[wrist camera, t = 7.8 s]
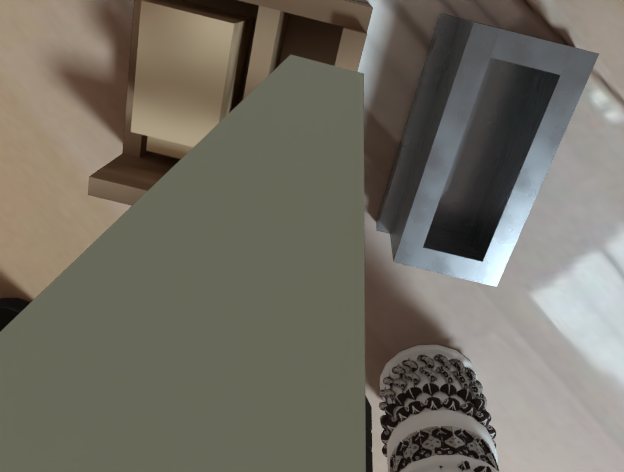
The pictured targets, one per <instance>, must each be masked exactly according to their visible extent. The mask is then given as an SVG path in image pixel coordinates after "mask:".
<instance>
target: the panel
mask: <svg viewBox="0 0 624 472" xmlns="http://www.w3.org/2000/svg"><path fill="white" fill-rule="evenodd" d="M0 472H366V432H365V243H364V74H363V73H359V72H355V71H352V70H348V69H344V68H340V67H336V66H333V65H329V64H325V63H321V62H317V61H314V60H310V59H306V58H302V57H298V56H295V55H290V56H289V57H288V58H286V59H285V60H284V61H283V62H282V63H281V64H280V65H279V66H278V67H277V68H276V69H275V70H274V71H273V72H272V73H271V74H270V75H269V76H268V77H267V78H266V79H264V80H263V81H262V82H261V83H260V84H259V85H258V86H257V87H256V88H255V89H254V90H253V91H252V92H251V93H250V94H249V95H248V96H247V97H246V98H245V99H244V100H243V101H241V102H240V103H239V104H238V105H237V106H236V107H235V108H234V109H233V110H232V111H231V112H230V113H229V114H228V115H227V116H226V117H225V118H224V119H223V120H222V121H221V122H219V123H218V124H217V125H216V126H215V127H214V128H213V129H212V130H211V131H210V132H209V133H208V134H207V135H206V136H205V137H204V138H203V139H202V140H201V141H200V142H199V143H197V144H196V145H195V146H194V147H193V148H192V149H191V150H190V151H189V152H188V153H187V154H186V155H185V156H184V157H183V158H182V159H181V160H180V161H179V162H178V163H177V164H175V165H174V166H173V167H172V168H171V169H170V170H169V171H168V172H167V173H166V174H165V175H164V176H163V177H162V178H161V179H160V180H159V181H158V182H157V183H156V184H155V185H153V186H152V187H151V188H150V189H149V190H148V191H147V192H146V193H145V194H144V195H143V196H142V197H141V198H140V199H139V200H138V201H137V202H136V203H135V204H134V205H133V206H131V207H130V208H129V209H128V210H127V211H126V212H125V213H124V214H123V215H122V216H121V217H120V218H119V219H118V220H117V221H116V222H115V223H114V224H113V225H112V226H111V227H109V228H108V229H107V230H106V231H105V232H104V233H103V234H102V235H101V236H100V237H99V238H98V239H97V240H96V241H95V242H94V243H93V244H92V245H91V246H90V247H89V248H87V249H86V250H85V251H84V252H83V253H82V254H81V255H80V256H79V257H78V258H77V259H76V260H75V261H74V262H73V263H72V264H71V265H70V266H69V267H68V268H67V269H65V270H64V271H63V272H62V273H61V274H60V275H59V276H58V277H57V278H56V279H55V280H54V281H53V282H52V283H51V284H50V285H49V286H48V287H47V288H46V289H45V290H43V291H42V292H41V293H40V294H39V295H38V296H37V297H36V298H35V299H34V300H33V301H32V302H31V303H30V304H29V305H28V306H27V307H26V308H25V309H24V310H23V311H21V312H20V313H19V314H18V315H17V316H16V317H15V318H14V319H13V320H12V321H11V322H10V323H9V324H8V325H7V326H6V327H5V328H4V329H3V330H2V331H1V332H0Z"/></svg>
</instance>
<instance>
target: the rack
mask: <svg viewBox="0 0 624 472" xmlns="http://www.w3.org/2000/svg"><path fill="white" fill-rule="evenodd" d="M141 1H142V0H134V10H133V23H132V36H131V49H130V62H129V75H128V88H127V101H126V115H125V128H124V141H123V154H121V155H120V156H118V157H117V158H115V159H114V160H113V161H111V162H110V163H108V164H107V165H105V166H104V167H102V168H101V169H99V170H98V171H97V172H95V173H94V174H92V175H91V176H89V186H88V195H91V196H95V197H99V198H103V199H107V200H111V201H115V202H119V203H124V204H128V205H132V206H133V205H134V204H135V203H136V202H137V201H138V200H139V199H140V198H141V197H142V196H143V195H144V194H145V193H146V192H147V191H148V190H149V189H150V188H151V187H152V186H153V185H155V184H156V183H157V182H158V181H159V180H160V179H161V178H162V177H163V176H164V175H165V174H166V173H167V172H168V171H169V170H170V169H171V168H172V167H173V166H174V165H175V164H177V163H178V162H179V161H180V160H181V159H179V158H175V157H171V156H167V155H163V154H159V153H155V152H151V151H147V150H146V147H147V137H148V136H146V135H142V134H138V133H133V132H131V122H132V110H133V98H134V86H135V74H136V61H137V49H138V37H139V25H140V13H141ZM183 1H187V2H191V3H195V4H199V5H203V6H207V7H211V8H215V9H219V10H223V11H226V12H230V13H234V14H238V15H242V16H246V17H250V18H254V23H253V29H252V35H251V41H250V47H249V53H248V58H247V64H246V70H245V76H244V82H243V88H242V94H241V100H240V102H241V101H243V100H244V99H245V98H246V97H247V96H248V95H249V94H250V93H251V92H252V91H253V90H254V89H255V88H256V87H257V86H258V85H259V84H260V83H261V82H262V81H263V80H264V79H266V78H267V77H268V76H269V75H270V74H271V73H272V72H273V71H274V70H275V69H276V68H277V67H278V66H279V65H280V64H281V63H282V62H283V61H284V60H285V59H286V58H288V57H289V56H290V55H295V56H298V57H302V58H306V59H310V60H314V61H317V62H321V63H325V64H329V65H333V66H336V67H340V68H344V69H348V70H352V71H355V72H357V71H358V67H359V63H360V59H361V55H362V51H363V47H364V43H365V39H366V36H367V29H368V25H369V21H370V18H371V14H372V10H373V7H372V6H371V5H370V4H367V3H363V2H359V1H355V0H183Z"/></svg>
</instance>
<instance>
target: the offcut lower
mask: <svg viewBox="0 0 624 472" xmlns="http://www.w3.org/2000/svg"><path fill="white" fill-rule="evenodd" d="M164 1H168V2H172V3H176V4H180V5H184V6H188V7H192V8H196V9H200V10H204V11H208V12H212V13H216V14H220V15H224V16H228V17H232V18H236V19H240V20H244V21H245V24H244V30H243V36H242V43H241V49H240V55H239V61H238V67H237V74H236V80H235V86H234V92H233V98H232V104H231V111H232V110H233V109H234V108H235V107H236V106H237V105H238V104H239V103H240V100H241V94H242V88H243V82H244V76H245V70H246V64H247V58H248V53H249V47H250V41H251V35H252V29H253V23H254V18H250V17H246V16H242V15H238V14H234V13H230V12H226V11H223V10H219V9H215V8H211V7H207V6H203V5H199V4H195V3H191V2H187V1H183V0H164ZM231 111H230V112H231ZM192 148H193V147H191V146H186V145H182V144H178V143H174V142H170V141H166V140H162V139H158V138H154V137H150V136H148V137H147V147H146V150H147V151H151V152H155V153H159V154H163V155H167V156H171V157H175V158H179V159H182V158H183V157H184V156H185V155H186V154H187V153H188V152H189V151H190V150H191V149H192Z"/></svg>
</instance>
